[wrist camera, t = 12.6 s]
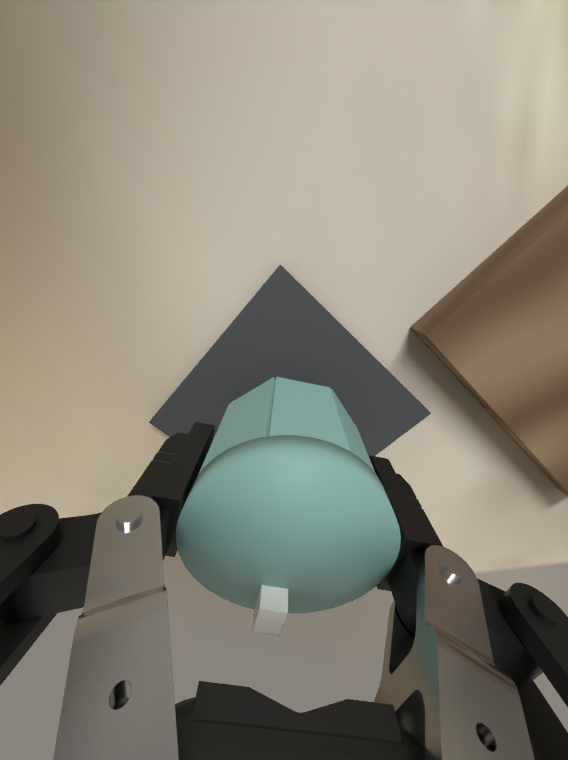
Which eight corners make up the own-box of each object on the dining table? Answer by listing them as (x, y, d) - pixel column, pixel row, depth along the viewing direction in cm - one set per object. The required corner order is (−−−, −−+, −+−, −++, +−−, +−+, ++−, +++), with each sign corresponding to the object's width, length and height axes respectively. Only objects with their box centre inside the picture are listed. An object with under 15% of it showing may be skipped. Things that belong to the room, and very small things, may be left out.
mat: (152, 418, 14) (148, 422, 14) (280, 264, 11) (280, 264, 11) (292, 512, 17) (292, 518, 16) (427, 409, 14) (430, 413, 13)
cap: (229, 362, 11) (171, 457, 5) (377, 392, 11) (454, 507, 6) (213, 478, 13) (162, 621, 8) (334, 499, 13) (363, 649, 8)
